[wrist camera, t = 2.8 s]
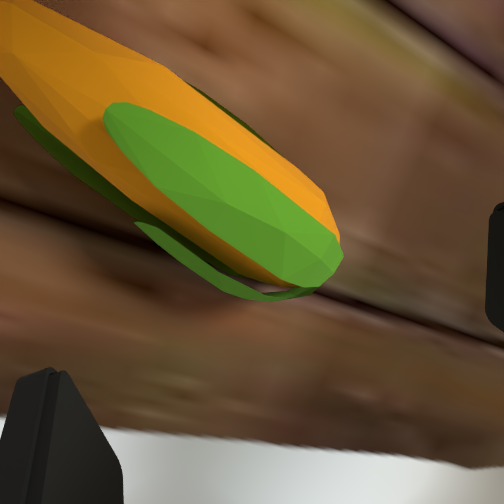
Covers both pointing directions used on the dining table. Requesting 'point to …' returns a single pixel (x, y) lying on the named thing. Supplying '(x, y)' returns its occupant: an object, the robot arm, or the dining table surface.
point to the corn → (167, 156)
